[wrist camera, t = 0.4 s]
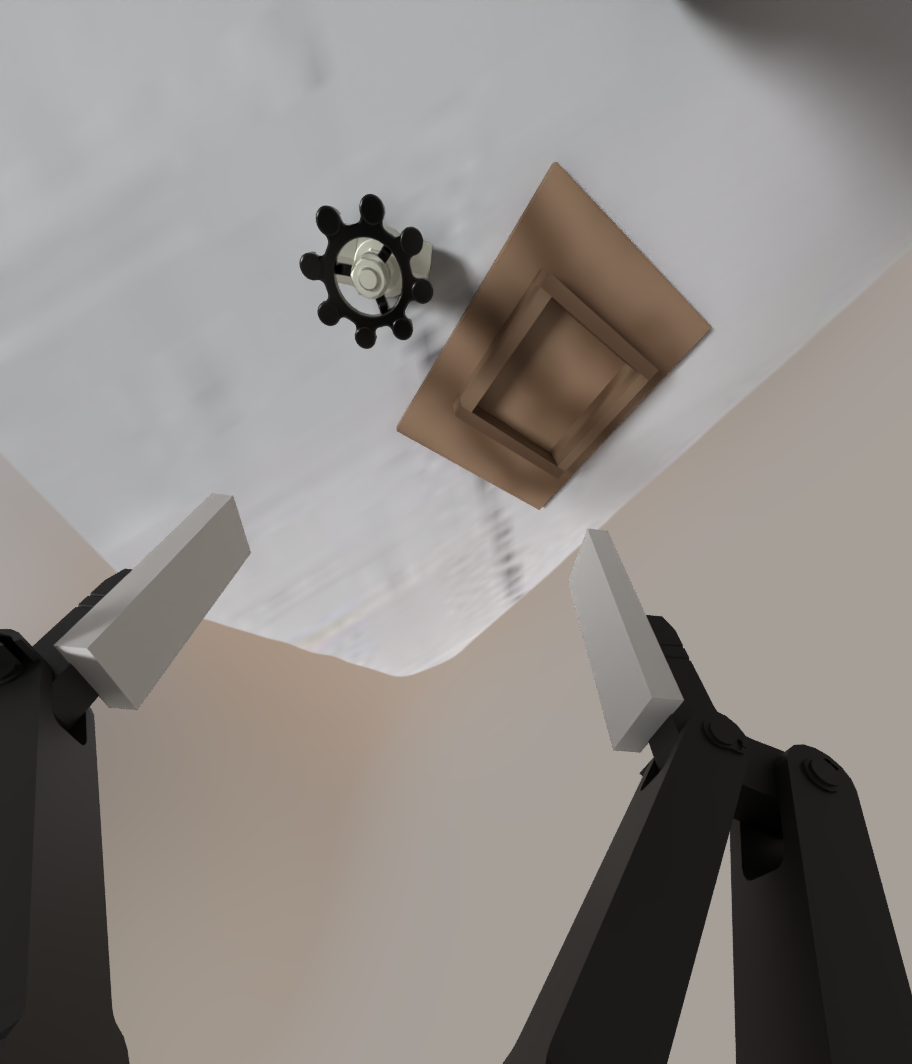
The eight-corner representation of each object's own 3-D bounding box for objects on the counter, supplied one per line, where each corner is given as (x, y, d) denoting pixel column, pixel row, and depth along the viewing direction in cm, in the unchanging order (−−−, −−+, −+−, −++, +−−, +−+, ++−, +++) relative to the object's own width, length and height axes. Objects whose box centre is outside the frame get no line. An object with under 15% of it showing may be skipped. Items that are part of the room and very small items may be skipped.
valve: (338, 189, 26) (295, 174, 17) (434, 214, 27) (444, 213, 18) (337, 300, 30) (302, 337, 21) (421, 318, 31) (423, 360, 22)
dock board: (552, 163, 26) (570, 156, 23) (704, 324, 33) (734, 335, 30) (397, 426, 37) (395, 445, 34) (537, 504, 44) (546, 526, 41)
